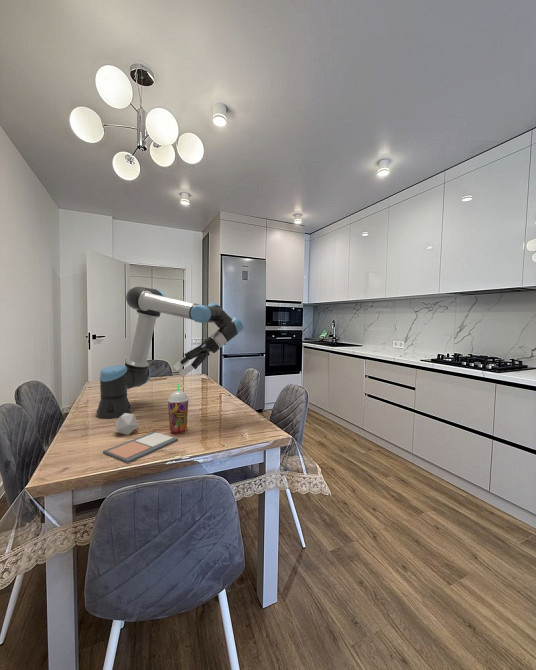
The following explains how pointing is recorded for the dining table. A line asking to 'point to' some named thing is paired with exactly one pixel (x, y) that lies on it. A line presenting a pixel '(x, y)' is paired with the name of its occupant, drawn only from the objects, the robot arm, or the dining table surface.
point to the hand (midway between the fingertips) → (178, 372)
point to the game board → (140, 447)
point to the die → (126, 423)
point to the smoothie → (178, 411)
